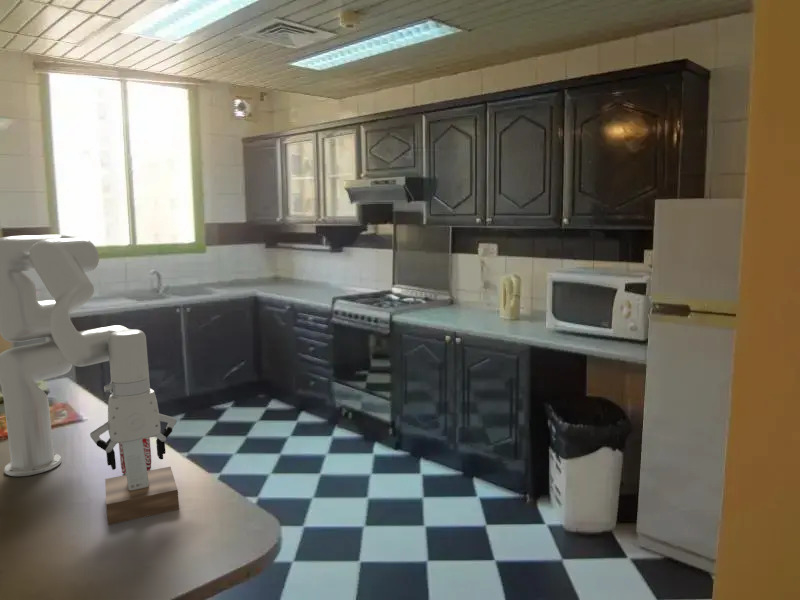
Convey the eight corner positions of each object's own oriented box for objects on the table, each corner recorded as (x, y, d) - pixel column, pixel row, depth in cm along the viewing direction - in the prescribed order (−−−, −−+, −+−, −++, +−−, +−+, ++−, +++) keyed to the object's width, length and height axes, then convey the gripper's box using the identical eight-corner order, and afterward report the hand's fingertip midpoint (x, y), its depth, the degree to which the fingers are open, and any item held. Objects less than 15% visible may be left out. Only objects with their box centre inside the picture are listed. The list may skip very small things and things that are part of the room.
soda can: (140, 479, 148) (137, 431, 146) (115, 477, 150) (111, 430, 148) (158, 467, 155) (154, 422, 153) (133, 465, 156) (129, 420, 155)
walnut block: (107, 499, 139) (105, 478, 138) (172, 486, 145) (170, 466, 144) (108, 527, 126) (106, 504, 126) (179, 511, 133) (177, 489, 132)
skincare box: (149, 487, 133) (143, 434, 131) (127, 492, 131) (121, 438, 129) (147, 476, 139) (141, 425, 137) (126, 481, 137) (120, 429, 135)
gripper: (88, 398, 124) (95, 477, 126) (176, 384, 133) (181, 459, 135) (84, 389, 130) (92, 465, 133) (169, 377, 139) (174, 448, 142)
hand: (137, 462), depth 134 cm, fingers open, 9 cm apart
